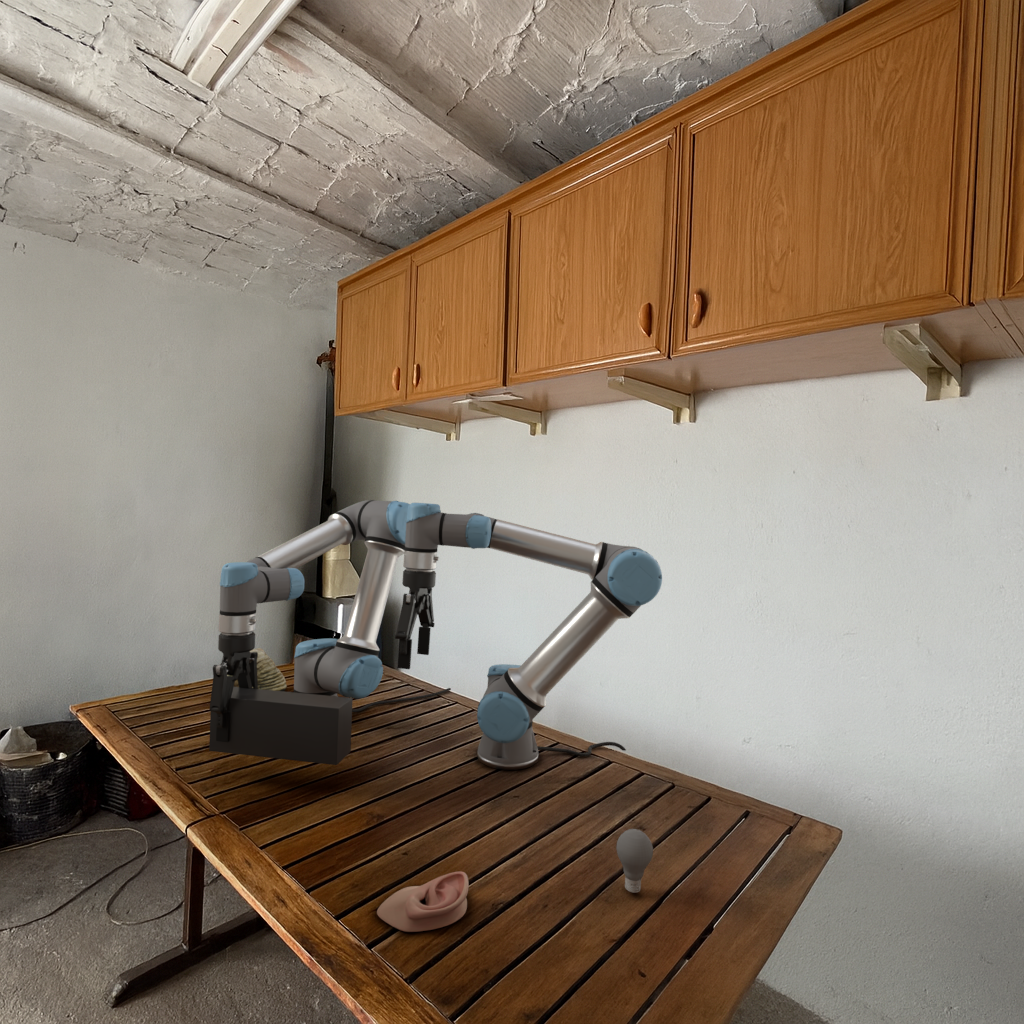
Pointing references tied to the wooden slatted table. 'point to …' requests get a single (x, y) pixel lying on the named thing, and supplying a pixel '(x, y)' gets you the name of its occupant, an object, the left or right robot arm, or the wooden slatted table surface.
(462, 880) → the anatomical model
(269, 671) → the fossil
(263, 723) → the box
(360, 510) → the left robot arm
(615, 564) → the right robot arm
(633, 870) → the light bulb
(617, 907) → the wooden slatted table surface
